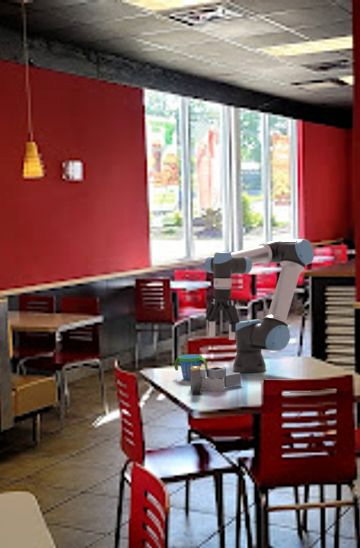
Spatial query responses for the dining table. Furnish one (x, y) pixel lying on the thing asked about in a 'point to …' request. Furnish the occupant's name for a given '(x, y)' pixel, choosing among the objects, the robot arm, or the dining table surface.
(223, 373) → the grey stacked cubes
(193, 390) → the pin
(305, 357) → the dining table surface
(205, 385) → the fixed leaf
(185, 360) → the snack cup
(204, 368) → the block
